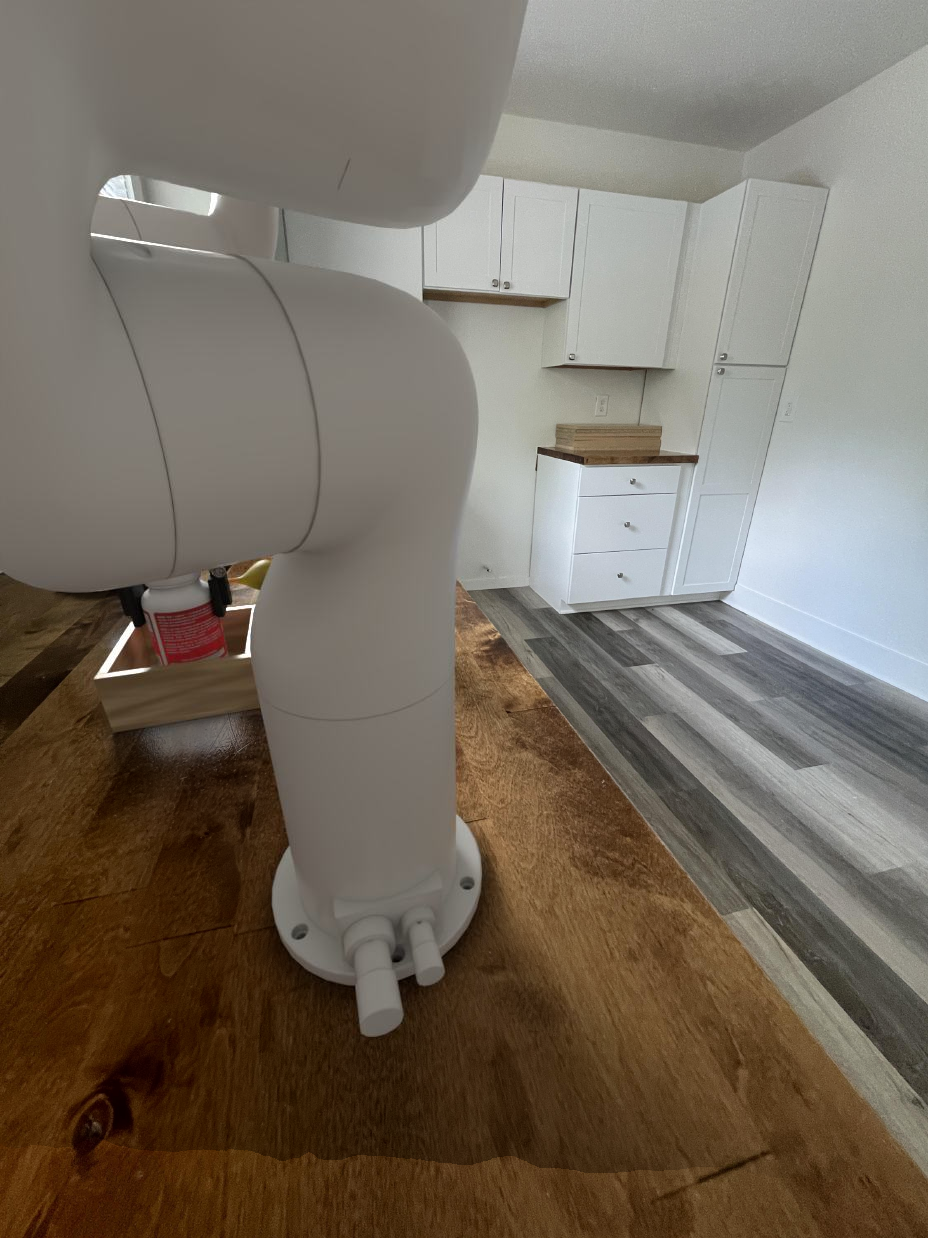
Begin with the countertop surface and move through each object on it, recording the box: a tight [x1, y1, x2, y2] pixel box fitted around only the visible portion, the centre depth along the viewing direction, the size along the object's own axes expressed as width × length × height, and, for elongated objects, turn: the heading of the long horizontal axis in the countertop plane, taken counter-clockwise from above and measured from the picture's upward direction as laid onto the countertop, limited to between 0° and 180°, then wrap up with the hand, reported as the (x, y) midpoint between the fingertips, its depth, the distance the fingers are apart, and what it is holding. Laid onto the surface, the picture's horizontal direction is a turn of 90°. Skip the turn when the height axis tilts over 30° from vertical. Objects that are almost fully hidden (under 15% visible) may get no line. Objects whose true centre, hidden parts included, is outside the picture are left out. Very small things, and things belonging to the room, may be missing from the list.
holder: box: [92, 604, 261, 733], centre depth 50 cm, size 13×13×6 cm
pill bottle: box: [141, 571, 229, 666], centre depth 48 cm, size 6×6×11 cm
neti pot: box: [228, 559, 272, 591], centre depth 70 cm, size 4×15×6 cm, turn 131°
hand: (183, 615), depth 48 cm, fingers closed on pill bottle, 6 cm apart
